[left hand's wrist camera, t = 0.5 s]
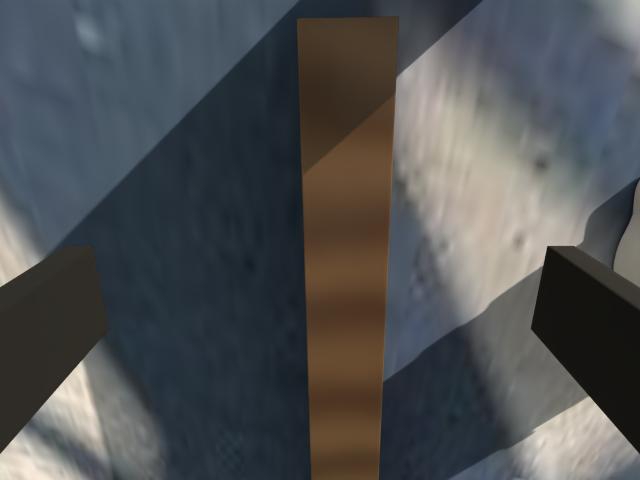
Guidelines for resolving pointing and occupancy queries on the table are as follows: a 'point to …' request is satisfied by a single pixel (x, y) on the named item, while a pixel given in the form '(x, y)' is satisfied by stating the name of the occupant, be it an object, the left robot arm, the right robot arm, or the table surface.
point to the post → (346, 232)
